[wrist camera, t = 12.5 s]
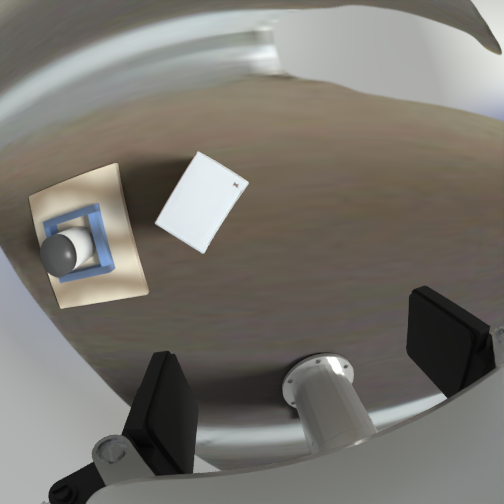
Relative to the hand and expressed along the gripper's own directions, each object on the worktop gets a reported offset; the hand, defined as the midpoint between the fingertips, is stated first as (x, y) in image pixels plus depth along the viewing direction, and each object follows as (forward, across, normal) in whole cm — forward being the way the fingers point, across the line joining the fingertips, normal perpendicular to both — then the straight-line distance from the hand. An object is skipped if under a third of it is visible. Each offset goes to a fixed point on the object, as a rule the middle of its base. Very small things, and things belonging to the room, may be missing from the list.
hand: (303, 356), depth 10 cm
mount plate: (+27, +23, -4) cm, 36 cm away
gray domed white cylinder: (+26, +23, -4) cm, 35 cm away
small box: (+28, +4, -6) cm, 28 cm away
